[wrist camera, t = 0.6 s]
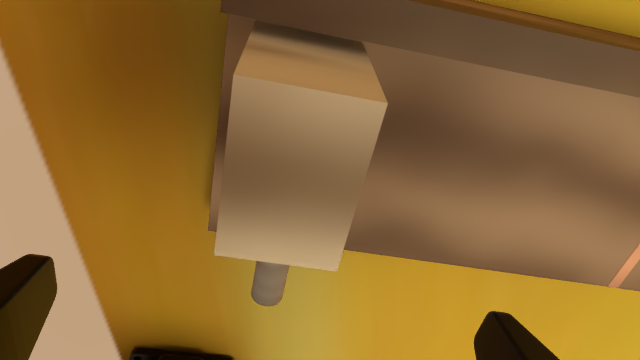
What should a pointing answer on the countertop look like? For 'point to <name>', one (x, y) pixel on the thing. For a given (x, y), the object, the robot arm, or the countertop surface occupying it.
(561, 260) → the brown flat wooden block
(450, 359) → the countertop surface
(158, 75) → the countertop surface
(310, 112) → the block
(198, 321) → the countertop surface
